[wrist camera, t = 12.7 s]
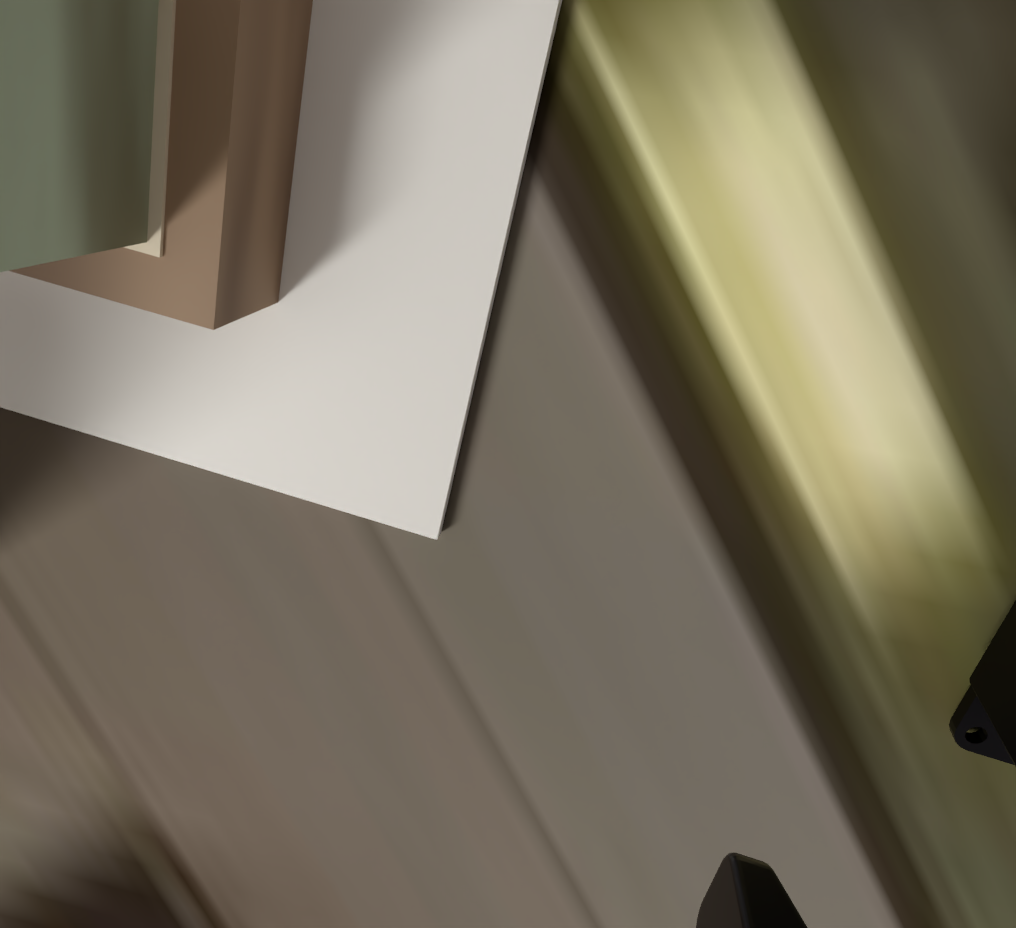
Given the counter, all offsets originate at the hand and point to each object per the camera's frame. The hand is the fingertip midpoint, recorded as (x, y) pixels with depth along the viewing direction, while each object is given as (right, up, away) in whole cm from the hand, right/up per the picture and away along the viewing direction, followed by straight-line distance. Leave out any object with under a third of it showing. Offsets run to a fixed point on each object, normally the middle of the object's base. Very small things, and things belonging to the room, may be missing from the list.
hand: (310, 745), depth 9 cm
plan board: (-5, +9, +10) cm, 15 cm away
